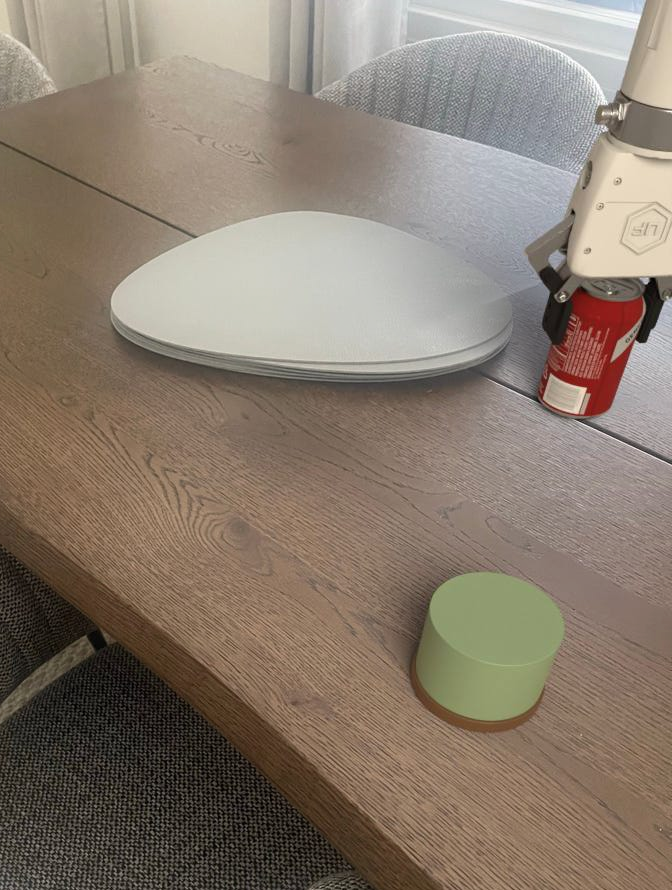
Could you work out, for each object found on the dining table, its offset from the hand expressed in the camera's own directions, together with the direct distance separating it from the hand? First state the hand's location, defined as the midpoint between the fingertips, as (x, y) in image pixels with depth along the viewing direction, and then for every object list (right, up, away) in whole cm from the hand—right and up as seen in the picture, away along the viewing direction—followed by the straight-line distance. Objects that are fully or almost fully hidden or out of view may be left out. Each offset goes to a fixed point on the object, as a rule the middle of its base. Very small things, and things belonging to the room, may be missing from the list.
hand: (594, 334), depth 86 cm
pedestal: (-16, -30, -18) cm, 39 cm away
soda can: (0, -5, +5) cm, 7 cm away
